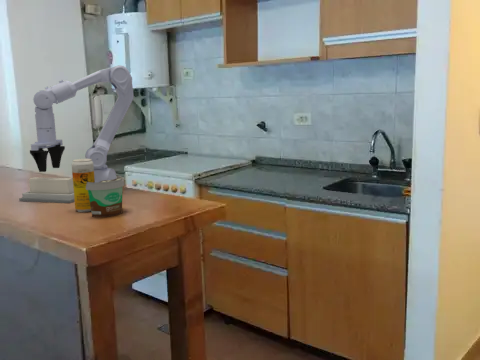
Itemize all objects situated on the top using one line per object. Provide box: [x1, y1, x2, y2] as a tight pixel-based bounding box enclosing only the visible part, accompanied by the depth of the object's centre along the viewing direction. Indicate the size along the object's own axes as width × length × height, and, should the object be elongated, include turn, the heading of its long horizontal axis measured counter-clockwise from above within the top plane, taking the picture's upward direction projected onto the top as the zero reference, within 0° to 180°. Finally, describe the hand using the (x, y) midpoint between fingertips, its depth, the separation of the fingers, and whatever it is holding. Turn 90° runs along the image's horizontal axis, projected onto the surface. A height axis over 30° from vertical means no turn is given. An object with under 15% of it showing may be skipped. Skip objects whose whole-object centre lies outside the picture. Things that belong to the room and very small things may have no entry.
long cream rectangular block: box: [28, 176, 74, 195], centre depth 161 cm, size 14×3×6 cm, turn 77°
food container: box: [86, 175, 126, 218], centre depth 140 cm, size 12×6×10 cm, turn 148°
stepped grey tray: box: [18, 190, 75, 204], centre depth 161 cm, size 18×9×2 cm, turn 77°
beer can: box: [71, 158, 95, 213], centre depth 144 cm, size 6×6×15 cm
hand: (49, 169), depth 162 cm, fingers open, 7 cm apart
